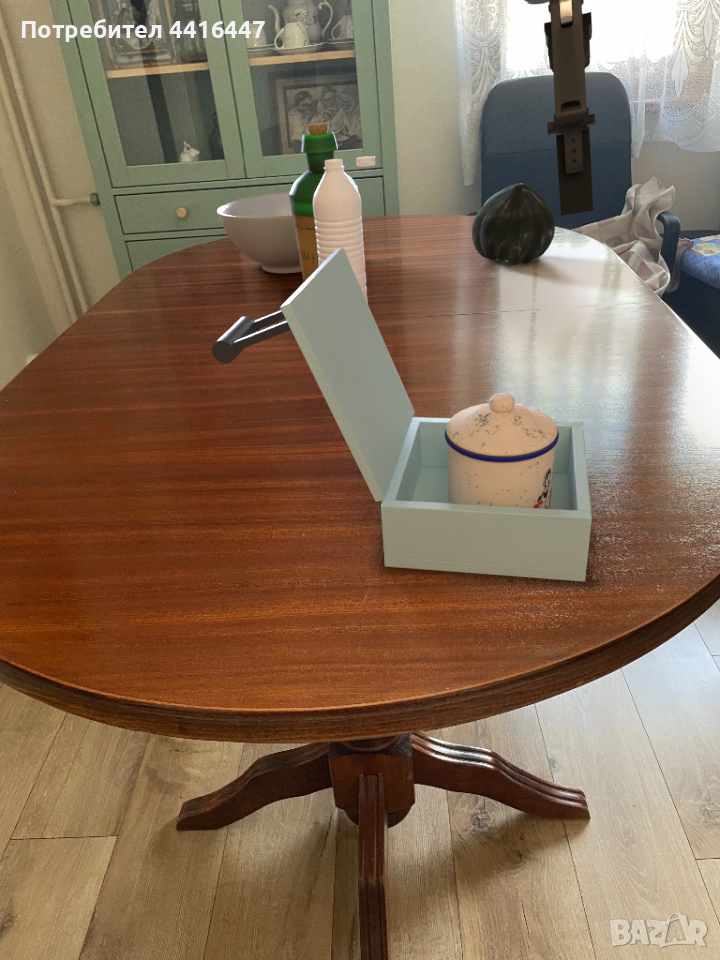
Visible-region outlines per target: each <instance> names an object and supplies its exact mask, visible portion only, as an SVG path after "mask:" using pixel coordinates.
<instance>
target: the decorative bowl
mask: <svg viewBox="0 0 720 960" xmlns="http://www.w3.org/2000/svg"><path fill="white" fill-rule="evenodd" d="M289 193H290V191H285V192H283V191H282V192H275V193H269V194H268V193H267V194H260V195H255V196H250V197H249V196H248V197H245V198H240V199H236V200H233V201H230V202H227V203H225V204H223V205H221V206H219V207H218V208H217V210H216V214H217V217H218V219H219V222H220V224H221V226H222V228H223V230H224V231H225V234H226V235H227V237H229V239H230V241H231V242H232V243H233V244H234V246H236V248H237V249H238V250H239V251H240V252H241V253H242V254H244V255H245V256H246V257H247V258H249V259H251V260H252V261H254V262H255V263H258V264H261V267H262V270H263V271H265V272H268V273H272V274H294V273H295V274H296V273H302V270H301V264H300V258H299V252H298V246H297V240H296V234H295V228H294V222H293V216H292V210H291V204H290V198H289Z"/></svg>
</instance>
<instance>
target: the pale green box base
mask: <svg viewBox="0 0 720 960" xmlns="http://www.w3.org/2000/svg"><path fill="white" fill-rule="evenodd" d="M451 418H452V417H451ZM451 418H450V417H449V418H448V417H419V416H413V418H412V421H411V424H410V427H409V429H408V432H407V435H406V438H405V441H404V444H403V447H402V450H401V453H400V456H399V459H398V462H397V465H396V467H395V470H394V473H393V476H392V479H391V482H390V485H389V488H388V491H387V494H386V497H385V500H382V501H381V505H380V516H381V530H382V531H381V532H382V546H383V547H382V549H383V561H384V562H383V563H384V567H386V568H401V569H411V570H412V569H413V570H427V571H439V572H453V573H466V574H478V575H479V574H480V575H491V576H492V575H493V576H503V577H504V576H505V577H517V578H518V577H519V578H532V579H543V580H544V579H546V580H559V581H572V582H584V583H585V582H586V577H587V568H588V558H589V548H590V541H591V532H592V524H593V523H592V522H593V514H592V503H591V495H590V484H589V483H590V482H589V474H588V464H587V453H586V444H585V432H584V423H583V422H582V421H557V420H553V421H554V422H555V424H556V426H557V429H558V432H559V439H558V442H557V444H556V445H555V451H554V465H553V478H552V492H551V505H550V509H539V508H521V507H503V506H485V505H467V504H449V503H448V443H447V441H446V439H445V430H446V427H447V424H448V422H449V421H450V419H451Z"/></svg>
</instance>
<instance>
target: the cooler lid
mask: <svg viewBox="0 0 720 960" xmlns="http://www.w3.org/2000/svg"><path fill="white" fill-rule="evenodd" d="M283 320H284V321H283ZM278 322H279V323H278ZM276 323H277V324H276ZM273 324H274V325H273ZM268 326H269V327H268ZM265 327H267V328H265ZM289 331H291V333H292V335H293V337H294V339H295V341H296V343H297V345H298V347H299V349H300V351H301V353H302V355H303V358H304V359H305V362H306V363H307V366H308V368H309V370H310V371H311V374H312V375H313V377H314V380H315V382H316V384H317V386H318V388H319V390H320V392H321V394H322V396H323V398H324V400H325V403H326V404H327V406H328V408H329V410H330V413H331V414H332V416H333V418H334V420H335V422H336V424H337V426H338V428H339V430H340V432H341V434H342V436H343V438H344V441H345V443H346V445H347V447H348V449H349V451H350V452H351V455H352V457H353V459H354V461H355V463H356V465H357V467H358V469H359V471H360V473H361V475H362V478H363V479H364V482H365V484H366V485H367V487H368V489H369V492H370V494H371V496H372V497H373V499H374V501H375V503H378V502H382V501H383V500H385V497H386V494H387V491H388V488H389V485H390V482H391V479H392V476H393V473H394V470H395V467H396V465H397V462H398V459H399V456H400V453H401V450H402V447H403V444H404V441H405V438H406V435H407V432H408V429H409V427H410V424H411V421H412V418H413V417H414V415H415V409H414V406H413V403H412V402H411V400H410V397H409V395H408V393H407V390H406V387H405V386H404V384H403V382H402V379H401V376H400V375H399V373H398V370H397V367H396V365H395V363H394V361H393V359H392V356H391V354H390V352H389V349H388V347H387V345H386V342H385V340H384V338H383V335H382V333H381V331H380V329H379V326H378V324H377V321H376V319H375V318H374V315H373V313H372V311H371V308H370V306H369V303H368V304H367V301H366V299H365V297H364V294H363V292H362V290H361V288H360V285H359V283H358V281H357V278H356V276H355V274H354V272H353V269H352V267H351V265H350V262H349V260H348V258H347V256H346V253H345V251H344V249H343V247H341V248H339V249H336V250H335V251H334V252H333V253H332V254H331V255H330V256H329V257H328V258H327V259H326V260H325V261H324V262H323V263H322V264H321V265H320V266H319V267H318V268H317V269H316V270H315V272H314V273H313V274H312V275H311V276H310V277H309V278H308V279H307V280H306V281H305V282H303V283H302V284H301V285H299V287H298V288H297V289H296V290H295V291H294V292H293V293H292V294H291V295H290V296H289V297H288V298H287V299H286V300H285V302H284V303H282V305H281V306H280V307H279V310H278V311H275V312H273V313H271V314H268V315H265V316H263V317H260V318H258V319H255V318H253V317H251V316H246V315H245V316H242V317H240V318H239V319H238V320H237V321H236V322H235V323H234V324H233V325H232V326H231V327H229V329H227V331H225V332H224V333H223V334H222V335H221V336H220V337H219V338H218V339H217V340H215V342H214V343H213V344H212V346H211V353H212V356H213V357H214V359H215V360H216V361H217V362H219V363H221V364H230V363H232V362H233V361H234V360H235V359H236V358H237V357H238V356H239V355H240V354H241V353H242V352H243V351H244V350H245V349H246V348H248V347H251V346H253V345H256V344H258V343H260V342H264V341H267V340H268V339H272V338H273V337H277V336H279V335H282V334H285V333H286V332H289Z"/></svg>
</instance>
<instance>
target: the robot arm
mask: <svg viewBox="0 0 720 960" xmlns="http://www.w3.org/2000/svg"><path fill="white" fill-rule="evenodd" d="M584 1H585V0H522V2H524V3H525V4H527V5H542V4H544V5H545V4H546V3H548V5H547V7H548V9H547V10H548V13H549V14H550V21H548V22H544V23H543V32H544V33H543V34H544V42H545V46H546V48H547V61H548V67H549V69H550V70H551V72H552V73H553V74H552V75H553V93H554V113H553V121H549V122H546V128H547V136H554V135H555V143H556V144H555V145H556V159H557V160H556V161H557V174H558V175H557V177H558V191H559V192H558V193H559V207H560V216H568V215H573V214H580V213H586V212H593V211H594V199H593V198H594V197H593V177H592V174H593V173H592V157H591V155H592V153H591V135H590V133H591V132H590V126H595V125H596V113H591V114H590V108H589V106H587V87H586V68H587V67H589V66H590V63H591V39H592V38H593V20H592V17H593V16H592V11H589V12H585V13H583V5H584V4H585V2H584Z"/></svg>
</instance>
